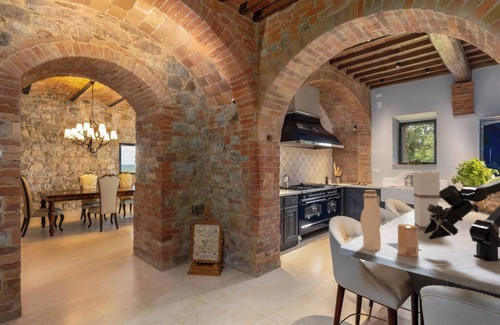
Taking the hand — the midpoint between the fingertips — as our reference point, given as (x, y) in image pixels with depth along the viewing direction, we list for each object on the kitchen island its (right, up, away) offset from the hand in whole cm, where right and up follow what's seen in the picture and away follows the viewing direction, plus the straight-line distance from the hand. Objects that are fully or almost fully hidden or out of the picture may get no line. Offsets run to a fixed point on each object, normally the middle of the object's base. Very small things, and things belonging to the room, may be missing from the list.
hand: (426, 235), depth 113 cm
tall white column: (+33, -9, +48) cm, 59 cm away
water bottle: (-18, -10, +13) cm, 24 cm away
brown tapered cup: (-7, -9, +3) cm, 11 cm away
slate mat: (-3, -9, +12) cm, 16 cm away
